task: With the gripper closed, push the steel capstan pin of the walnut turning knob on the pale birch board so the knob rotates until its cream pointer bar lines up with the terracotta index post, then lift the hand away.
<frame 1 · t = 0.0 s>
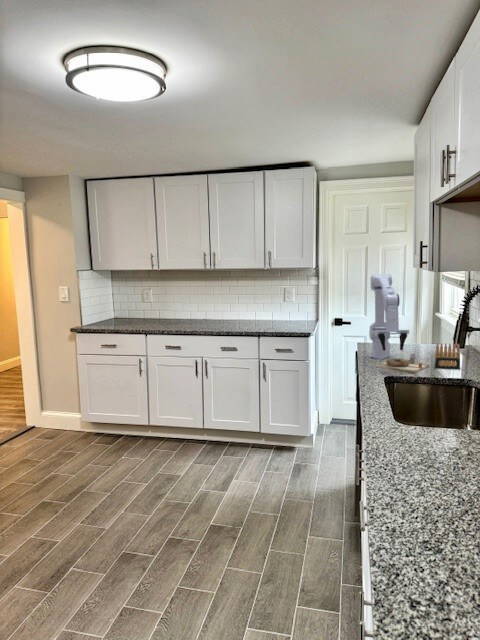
hand: (392, 350, 202), 11 cm above the worktop, tool pointing down, fingers open, 7 cm apart
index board: (402, 366, 213), on the worktop
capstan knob: (401, 359, 214), point 3 cm above the worktop, hinge at 50.0°
ammunition clip: (447, 368, 207), on the worktop
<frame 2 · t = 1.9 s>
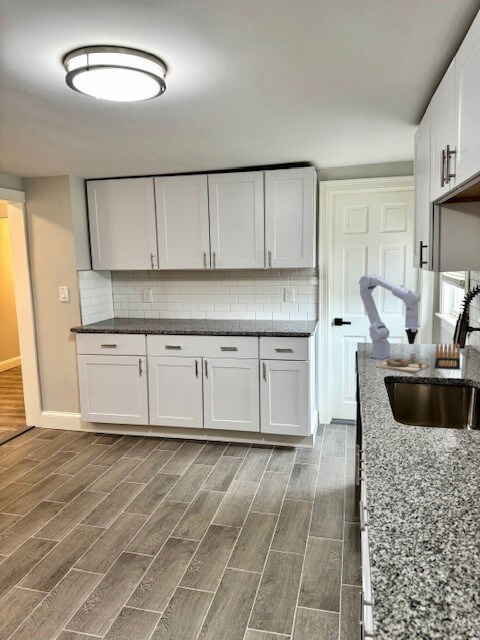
hand: (411, 343, 220), 9 cm above the worktop, tool pointing down, fingers closed
nothing on the worktop moved.
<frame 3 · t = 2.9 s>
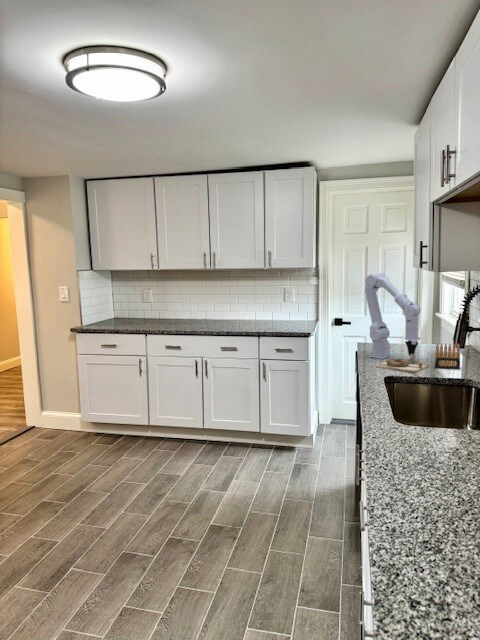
hand: (411, 355, 220), 3 cm above the worktop, tool pointing down, fingers closed
nothing on the worktop moved.
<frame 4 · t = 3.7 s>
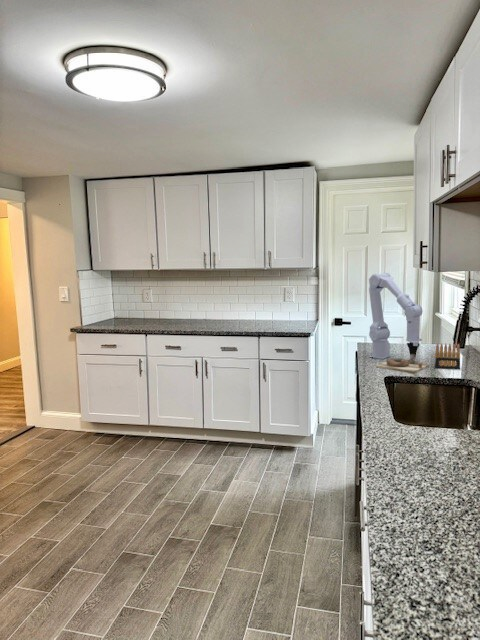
hand: (412, 357, 216), 3 cm above the worktop, tool pointing down, fingers closed, pressing on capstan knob
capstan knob: (401, 359, 214), point 3 cm above the worktop, hinge at 49.2°, touching gripper
everything else where it was.
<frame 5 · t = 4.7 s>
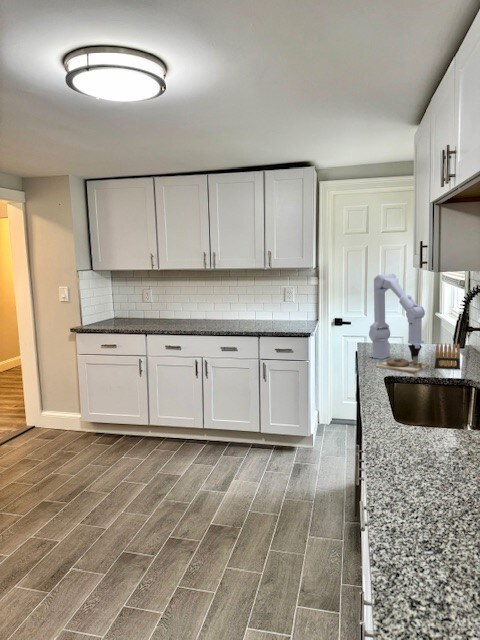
hand: (414, 360, 211), 3 cm above the worktop, tool pointing down, fingers closed
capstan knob: (402, 360, 212), point 3 cm above the worktop, hinge at 9.8°, touching gripper
everything else where it was.
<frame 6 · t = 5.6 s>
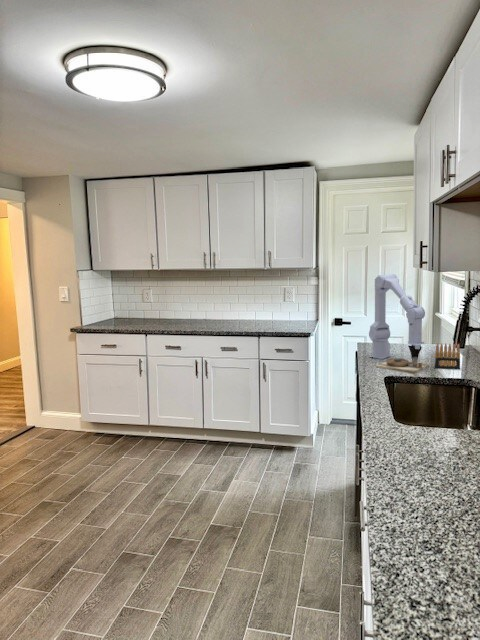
hand: (414, 360, 210), 3 cm above the worktop, tool pointing down, fingers closed
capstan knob: (401, 360, 212), point 3 cm above the worktop, hinge at -0.4°, touching gripper
everything else where it was.
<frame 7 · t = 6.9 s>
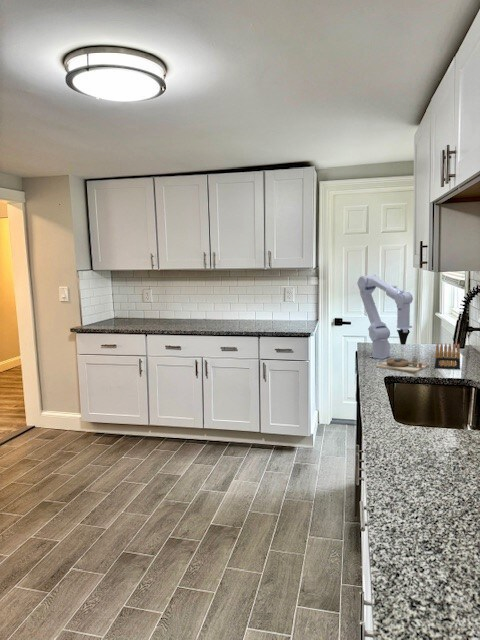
hand: (403, 344, 220), 9 cm above the worktop, tool pointing down, fingers closed
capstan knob: (401, 360, 212), point 3 cm above the worktop, hinge at -0.5°
everything else where it was.
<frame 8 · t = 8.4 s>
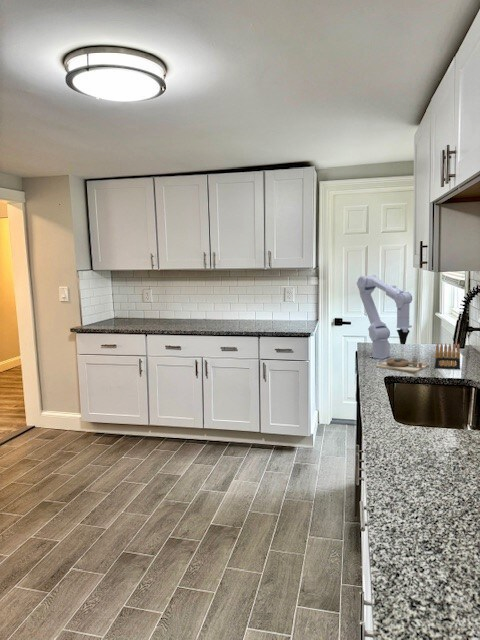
hand: (402, 344, 220), 9 cm above the worktop, tool pointing down, fingers closed
nothing on the worktop moved.
at the end: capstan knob at +0° (first picture: +50°); the gripper is holding nothing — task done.
